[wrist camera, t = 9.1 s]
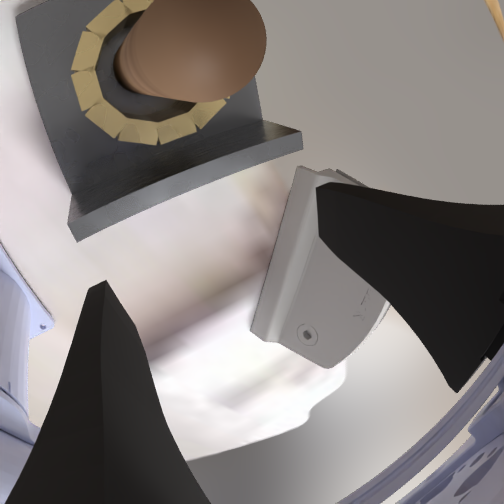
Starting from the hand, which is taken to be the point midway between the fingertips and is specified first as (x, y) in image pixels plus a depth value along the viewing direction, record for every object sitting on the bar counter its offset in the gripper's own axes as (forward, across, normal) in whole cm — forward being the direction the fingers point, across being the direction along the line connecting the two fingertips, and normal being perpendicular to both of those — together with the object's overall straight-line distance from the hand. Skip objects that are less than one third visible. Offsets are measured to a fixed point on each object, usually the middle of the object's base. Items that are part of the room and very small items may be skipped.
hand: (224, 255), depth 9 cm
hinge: (+11, -10, +12) cm, 19 cm away
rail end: (+9, -1, -6) cm, 11 cm away
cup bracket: (+10, -1, -6) cm, 12 cm away
